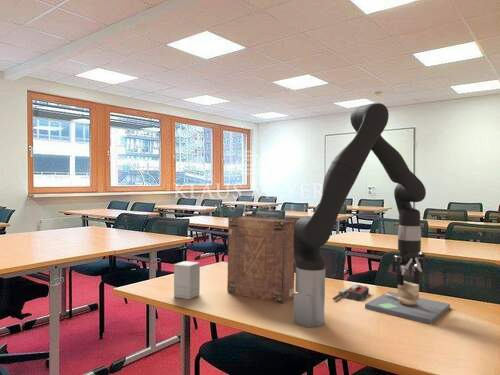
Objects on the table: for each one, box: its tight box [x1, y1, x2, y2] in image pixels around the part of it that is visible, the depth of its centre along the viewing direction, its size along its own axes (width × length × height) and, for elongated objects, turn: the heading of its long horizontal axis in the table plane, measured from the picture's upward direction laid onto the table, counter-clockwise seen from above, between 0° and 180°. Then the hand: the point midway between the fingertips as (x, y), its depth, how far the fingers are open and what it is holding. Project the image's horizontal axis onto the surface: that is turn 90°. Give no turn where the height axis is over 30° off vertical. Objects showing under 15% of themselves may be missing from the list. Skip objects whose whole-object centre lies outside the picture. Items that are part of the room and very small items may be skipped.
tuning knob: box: [384, 280, 420, 306], centre depth 136 cm, size 14×6×7 cm, turn 28°
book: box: [226, 215, 296, 304], centre depth 146 cm, size 25×9×30 cm, turn 57°
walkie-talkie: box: [332, 284, 370, 301], centre depth 146 cm, size 9×4×20 cm
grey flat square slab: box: [364, 291, 451, 325], centre depth 133 cm, size 22×22×2 cm
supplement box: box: [173, 260, 201, 300], centre depth 143 cm, size 7×7×13 cm
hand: (408, 283), depth 133 cm, fingers open, 8 cm apart
